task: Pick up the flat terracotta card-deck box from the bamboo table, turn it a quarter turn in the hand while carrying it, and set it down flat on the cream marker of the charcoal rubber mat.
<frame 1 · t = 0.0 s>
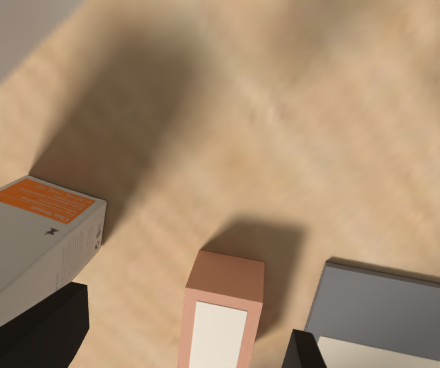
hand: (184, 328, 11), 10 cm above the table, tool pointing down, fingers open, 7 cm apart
card deck: (224, 299, 24), on the table
skincare box: (66, 210, 23), on the table
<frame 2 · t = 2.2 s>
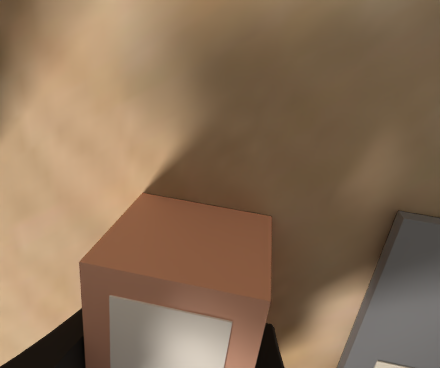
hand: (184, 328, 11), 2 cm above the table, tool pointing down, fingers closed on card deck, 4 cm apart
card deck: (195, 295, 13), on the table, touching gripper
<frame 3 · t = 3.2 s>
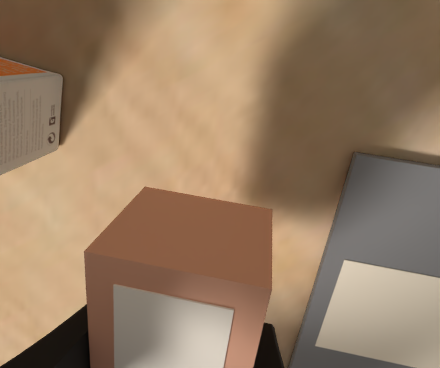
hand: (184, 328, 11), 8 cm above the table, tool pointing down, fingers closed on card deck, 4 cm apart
charcoal mat: (415, 317, 19), on the table
card deck: (196, 288, 13), point 6 cm above the table, touching gripper
skincare box: (12, 96, 17), on the table
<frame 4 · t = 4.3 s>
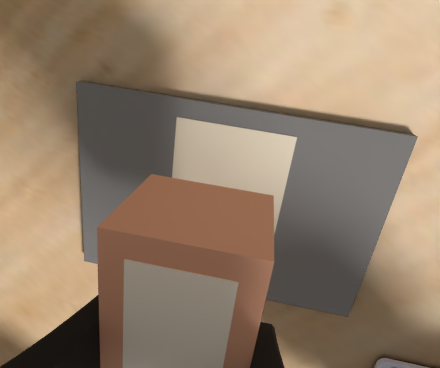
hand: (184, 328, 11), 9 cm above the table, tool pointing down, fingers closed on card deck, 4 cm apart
charcoal mat: (224, 205, 20), on the table
card deck: (200, 274, 13), point 7 cm above the table, touching gripper
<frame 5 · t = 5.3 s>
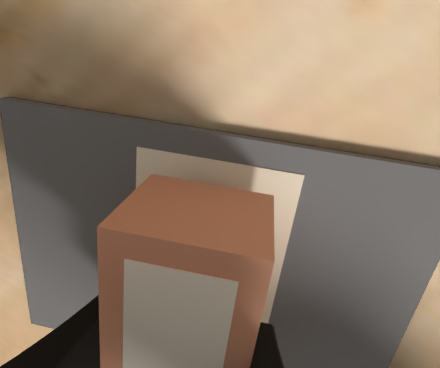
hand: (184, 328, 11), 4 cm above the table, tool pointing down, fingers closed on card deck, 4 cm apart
charcoal mat: (207, 259, 15), on the table
card deck: (200, 274, 13), point 2 cm above the table, touching gripper
when the fingers open (3 cm above the table, at t = 6.4 s): card deck stays where it is, resting on charcoal mat.
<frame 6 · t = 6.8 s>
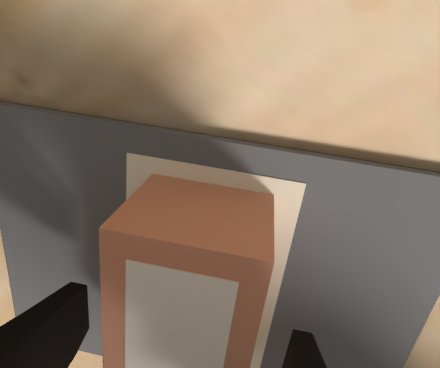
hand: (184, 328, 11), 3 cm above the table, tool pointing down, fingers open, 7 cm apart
charcoal mat: (202, 271, 14), on the table
card deck: (201, 272, 13), point 1 cm above the table, touching charcoal mat
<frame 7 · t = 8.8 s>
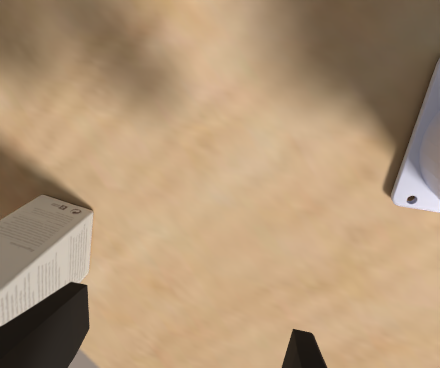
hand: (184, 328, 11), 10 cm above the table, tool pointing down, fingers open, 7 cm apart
skincare box: (68, 233, 25), on the table
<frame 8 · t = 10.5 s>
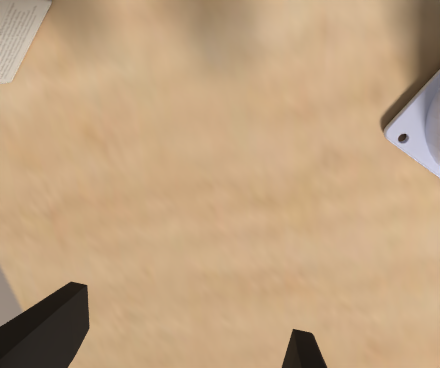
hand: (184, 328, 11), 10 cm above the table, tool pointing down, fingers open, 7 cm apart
skincare box: (5, 20, 19), on the table
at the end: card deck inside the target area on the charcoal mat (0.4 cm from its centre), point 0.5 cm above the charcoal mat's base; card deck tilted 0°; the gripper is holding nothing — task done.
